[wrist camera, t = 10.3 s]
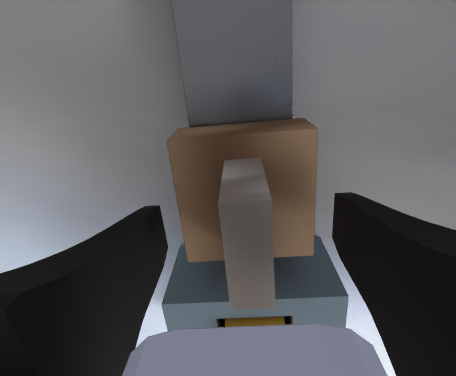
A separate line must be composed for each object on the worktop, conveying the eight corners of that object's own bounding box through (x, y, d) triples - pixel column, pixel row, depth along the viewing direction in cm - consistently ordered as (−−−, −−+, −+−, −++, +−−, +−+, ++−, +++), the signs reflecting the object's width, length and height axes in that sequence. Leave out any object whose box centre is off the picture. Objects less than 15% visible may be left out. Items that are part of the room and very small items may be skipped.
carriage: (303, 117, 13) (358, 158, 7) (302, 227, 16) (342, 327, 10) (178, 128, 14) (132, 175, 8) (195, 234, 16) (169, 333, 10)
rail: (283, -269, 10) (290, -324, 8) (288, 225, 18) (292, 239, 16) (143, -244, 10) (129, -293, 9) (209, 230, 18) (206, 244, 17)
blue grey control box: (320, 237, 18) (348, 296, 13) (317, 308, 20) (340, 379, 16) (174, 246, 18) (153, 304, 14) (187, 313, 21) (173, 383, 16)
